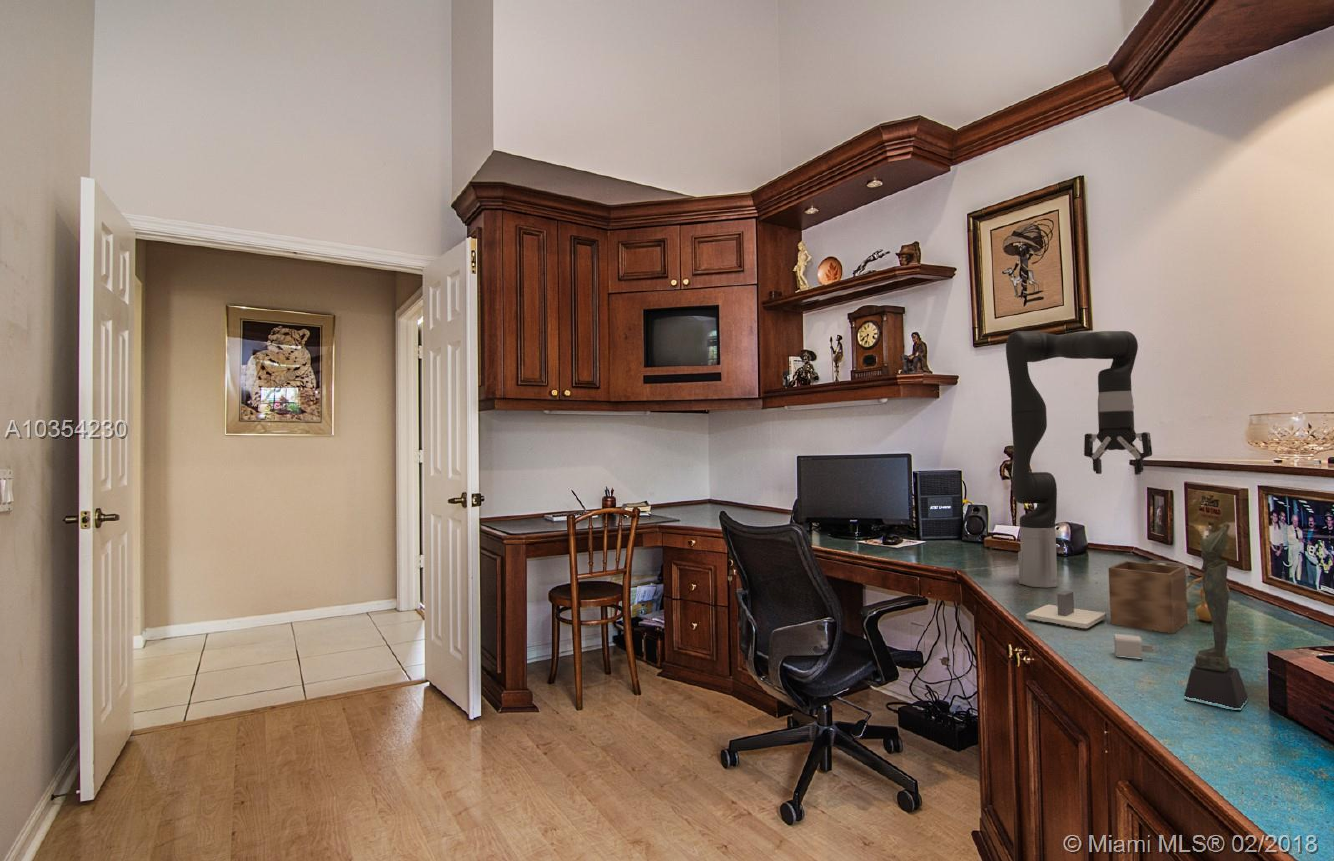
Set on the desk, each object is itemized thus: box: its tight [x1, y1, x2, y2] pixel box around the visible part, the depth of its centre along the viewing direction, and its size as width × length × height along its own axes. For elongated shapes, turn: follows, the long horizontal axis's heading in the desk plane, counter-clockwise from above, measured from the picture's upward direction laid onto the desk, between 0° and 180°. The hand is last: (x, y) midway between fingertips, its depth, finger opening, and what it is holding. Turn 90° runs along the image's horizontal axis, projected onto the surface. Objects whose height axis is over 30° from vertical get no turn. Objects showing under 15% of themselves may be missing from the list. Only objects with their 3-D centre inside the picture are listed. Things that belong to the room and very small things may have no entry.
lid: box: [1025, 590, 1107, 629], centre depth 162 cm, size 13×13×7 cm
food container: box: [1149, 560, 1191, 588], centre depth 176 cm, size 12×6×10 cm, turn 168°
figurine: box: [1186, 576, 1231, 622], centre depth 158 cm, size 8×6×12 cm
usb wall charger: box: [1113, 633, 1159, 659], centre depth 135 cm, size 4×7×4 cm, turn 60°
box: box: [1108, 560, 1189, 634], centre depth 158 cm, size 12×12×13 cm
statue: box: [1183, 521, 1249, 708], centre depth 113 cm, size 7×8×30 cm
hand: (1118, 474), depth 171 cm, fingers open, 8 cm apart
